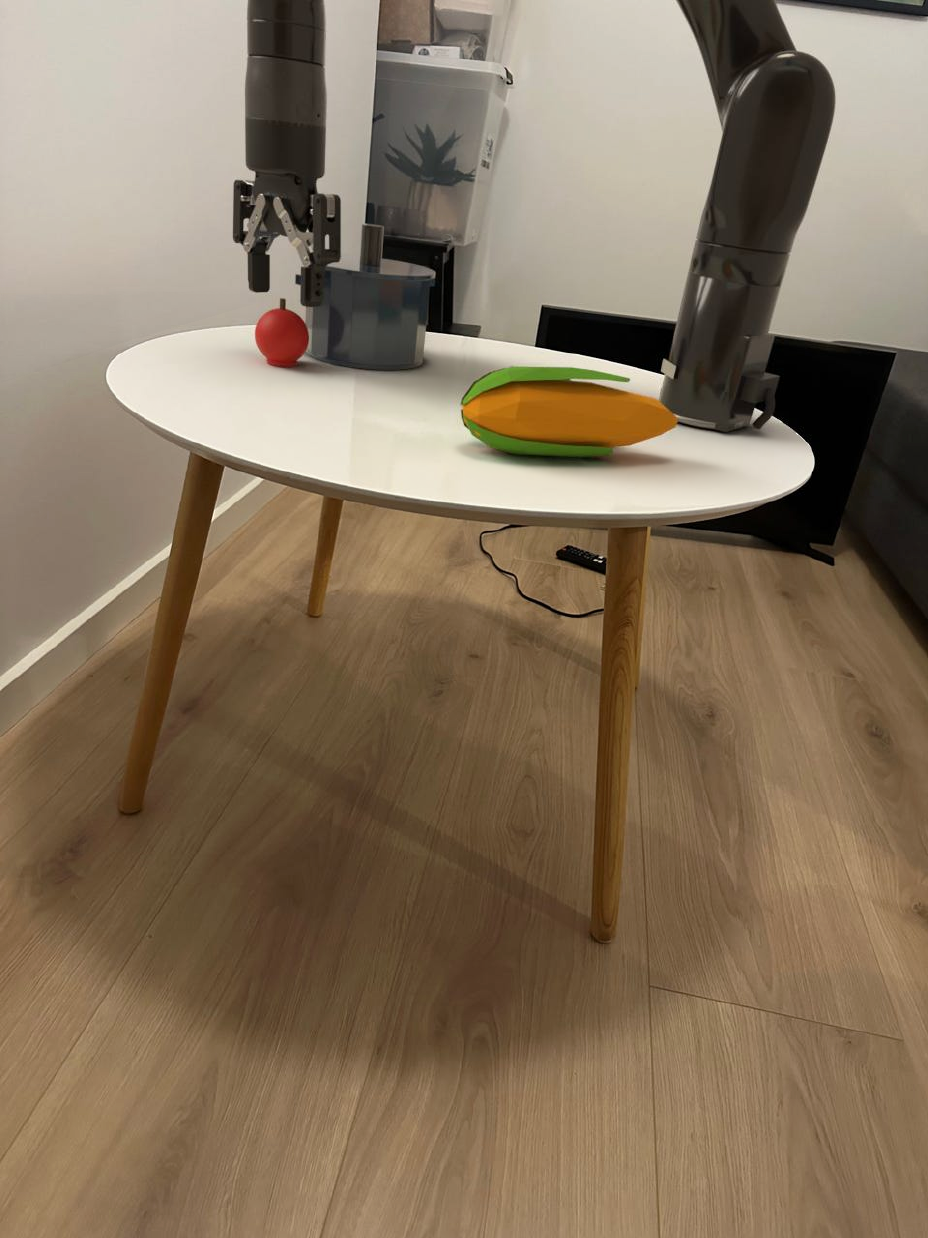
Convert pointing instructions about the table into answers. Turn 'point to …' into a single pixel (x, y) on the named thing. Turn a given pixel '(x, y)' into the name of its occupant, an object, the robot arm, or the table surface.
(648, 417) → the corn
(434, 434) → the table surface
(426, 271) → the pot lid
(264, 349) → the apple
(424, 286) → the pot
